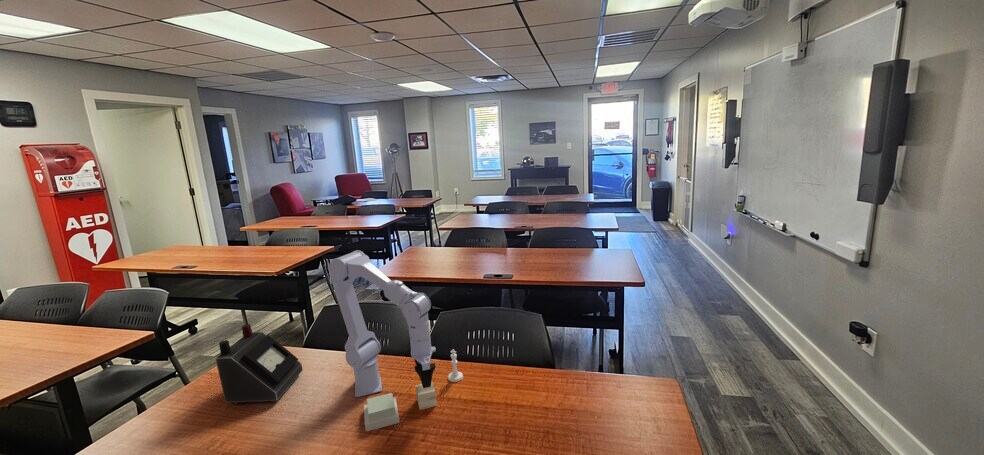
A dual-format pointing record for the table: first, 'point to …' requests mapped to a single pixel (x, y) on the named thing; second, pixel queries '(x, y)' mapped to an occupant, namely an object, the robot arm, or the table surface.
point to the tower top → (381, 407)
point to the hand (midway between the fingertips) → (424, 379)
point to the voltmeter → (255, 368)
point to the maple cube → (426, 396)
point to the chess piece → (454, 369)
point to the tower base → (380, 422)
